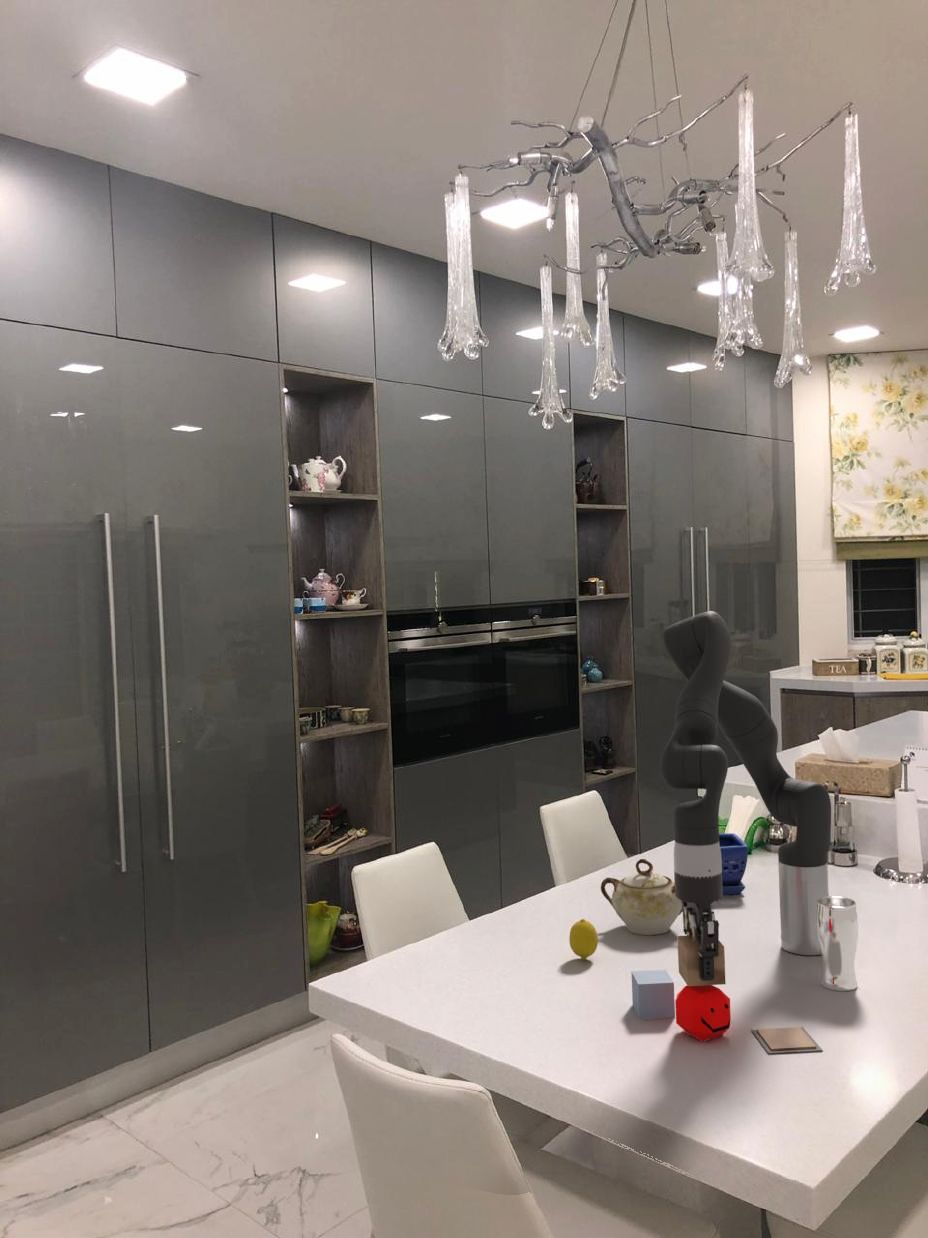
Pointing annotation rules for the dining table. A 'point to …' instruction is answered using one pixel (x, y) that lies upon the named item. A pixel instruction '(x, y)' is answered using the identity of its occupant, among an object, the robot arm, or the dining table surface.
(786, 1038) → the walnut swatch
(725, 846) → the flower pot
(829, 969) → the beer glass
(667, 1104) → the dining table surface
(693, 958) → the walnut cube
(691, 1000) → the ball
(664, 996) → the slate cube
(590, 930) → the lemon
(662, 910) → the sugar bowl
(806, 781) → the robot arm
